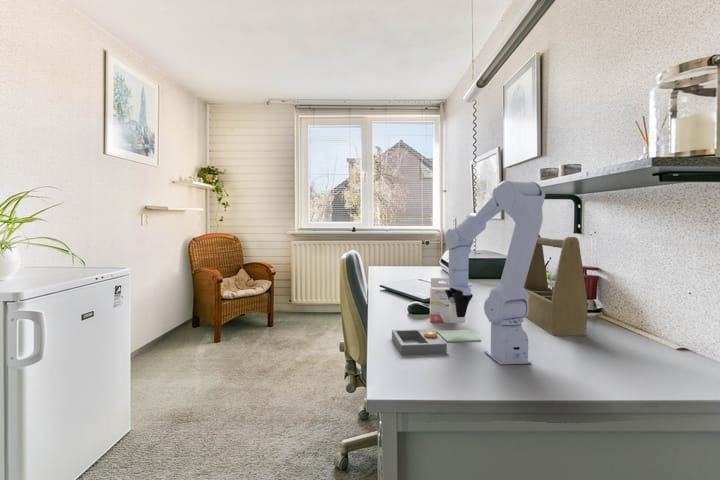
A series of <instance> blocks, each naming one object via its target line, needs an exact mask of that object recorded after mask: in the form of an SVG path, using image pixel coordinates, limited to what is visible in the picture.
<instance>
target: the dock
mask: <svg viewBox="0 0 720 480" xmlns="http://www.w3.org/2000/svg"><path fill="white" fill-rule="evenodd" d="M425 332H435V330H433V329H432V328H425V329H423V328H422V329H421V328H420V329H417V328H416V329H392V330H391V340H392V341H393V343H394V344H395V346H396V348H397V350H398V352H399V354H400V355H402V356H403V355H405V356H407V355H408V356H409V355H430V354H431V355H434V354H435V355H436V354H437V355H438V354H447V352H448V350H447V346H448V345H447V342H446V341H445V340H444V339H443V338H442V337H441V336H440V335H439V334H437V338H426V337H425V336H424V333H425ZM403 340H418V342H420V343H404V341H403Z"/></svg>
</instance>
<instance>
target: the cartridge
mask: <svg viewBox="0 0 720 480" xmlns="http://www.w3.org/2000/svg"><path fill="white" fill-rule="evenodd" d="M449 313H450V322H451V323H450V324H456V325H457V324H465V322H466V318H465V317H466V316H465V317H457V314H456V305H455V301H454V298H453V297H450V298H449Z"/></svg>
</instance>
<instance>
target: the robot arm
mask: <svg viewBox="0 0 720 480" xmlns="http://www.w3.org/2000/svg"><path fill="white" fill-rule="evenodd" d="M545 197H546V193H545V191H544V190H543V188H542V187H541V185H540V184H539V183H538V182H535V181H530V182H529V181H513V180H507V179H506V180H503V181H501V182H500V183H498V185H497V186H496V187H494V188H493V189H492V196H491V197H489V199H488V200H487V201H486V202H485V203H484V205H483V206H481V208H480V209H479V210H478V212H476V213H469V214H467V215H466V216H465V218H464V220H462V222H461V223H459V224H458V225H457V226H456V227H454V228H448V229H447V231H446V232H445V236H444V244H445V245H446V247H447V248H448V278H449V281H447V282H446V283H447V287H450V289H446V290H445V292H446V294H447V296H448V299H449V298H450V297H453V298H454V301H455V305H456V314H457V317H466V315H467V310H468V306H469V303H470V301H471V300H472V298H473V296H474V295H473V293H472V289H471V288H472V287H473V284H472V283H469V268H470V267H469V262H470V259H469V256H470V253H471V250H472V249H471V248H472V247H473V244H474V240H475V239H476V238H477V237H479V235H480V234H481V233H482V232H484V231H485V230H486V228H487V223H488V222H489V221H490V220H492V219H493V218H494V217H495V216H497V215H498V214H499V213H500V212H502V211H504V213H506V215H508V216H509V217H510V218H512V220H513V222H514V229H513V232H512V235H511V240H510V244H509V247H508V250H507V255H506V259H505V263H504V265H503V266H504V267H503V270H502V274H501V278H500V281H499V283H498V284H497V285H496V286H494V287H493V288H492V289H491V290H490V291H489V296H488V297H487V298H486V299H485V301H484V305H483V312H484V314H485V316H486V318H487V319H488V322H490V349H485V350H484V353H485V354H487V355H488V356H489V357H491V359H493V360H494V361H495V362H497V363H498V364H499V365H520V364H521V365H522V364H523V365H524V364H532V361H531V359H529V336H528V333H526V330H524V328H523V326H522V323H524V319H526V316H527V315H528V312H529V305H528V301H529V297H530V296H529V294H528V293H527V292H526V291H525V290H524V289H523V288H524V285H525V281H526V278H527V274H528V271H529V267H530V264H531V260H532V256H533V253H534V249H535V246H536V242H537V239H538V235H540V231H541V227H542V225H543V217H544V216H543V205H544V201H545Z"/></svg>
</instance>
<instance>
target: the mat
mask: <svg viewBox="0 0 720 480" xmlns="http://www.w3.org/2000/svg"><path fill="white" fill-rule="evenodd" d="M436 333H437V335H438V336H439V337H440V338H441V339H442V340H443V341H444V342H445V343H460V342H461V343H462V342H463V343H465V342H466V343H467V342H482V339H481V338H480V337H478V336H477V335H475V334H474V333H473V332H471V331H470V330H469V329H455V330H454V329H448V330H445V329H444V330H436Z"/></svg>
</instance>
